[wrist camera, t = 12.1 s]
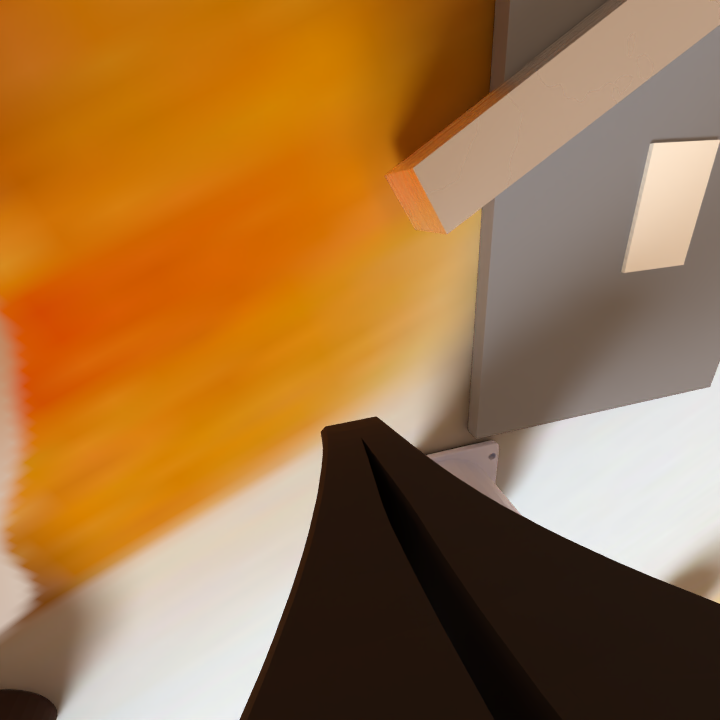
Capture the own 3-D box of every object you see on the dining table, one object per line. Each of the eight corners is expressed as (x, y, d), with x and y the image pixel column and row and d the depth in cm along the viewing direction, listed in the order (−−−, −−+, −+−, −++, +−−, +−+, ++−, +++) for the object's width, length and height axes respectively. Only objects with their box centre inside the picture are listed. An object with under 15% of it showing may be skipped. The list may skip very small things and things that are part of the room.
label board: (694, 380, 26) (713, 388, 25) (467, 429, 22) (478, 441, 21) (861, -95, 16) (904, -116, 15) (504, -140, 13) (527, -171, 11)
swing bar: (775, -140, 13) (903, -228, 11) (778, -44, 15) (892, -100, 12) (381, 169, 14) (408, 161, 12) (417, 234, 16) (450, 240, 13)
